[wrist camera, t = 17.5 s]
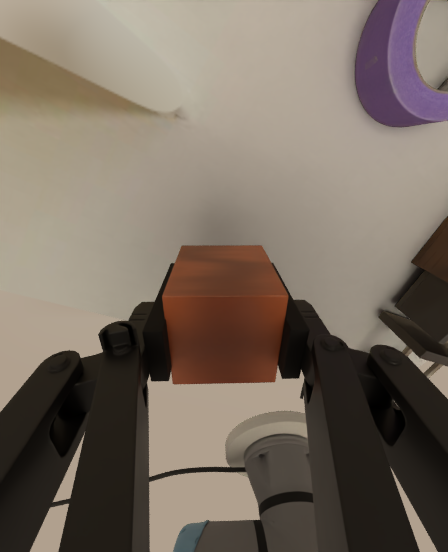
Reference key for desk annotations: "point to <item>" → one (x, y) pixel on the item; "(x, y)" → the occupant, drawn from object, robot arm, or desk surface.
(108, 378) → the robot arm
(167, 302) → the block
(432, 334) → the drawer
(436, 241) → the cabinet
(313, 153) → the desk surface
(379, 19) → the tape roll
